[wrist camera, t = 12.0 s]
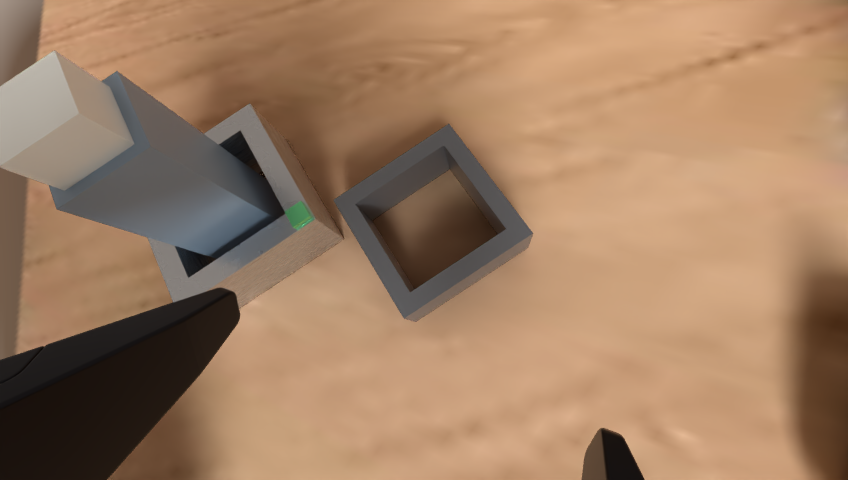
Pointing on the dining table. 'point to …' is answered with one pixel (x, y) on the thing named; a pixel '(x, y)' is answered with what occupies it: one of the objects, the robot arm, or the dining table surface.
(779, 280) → the dining table surface
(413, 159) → the frame
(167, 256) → the socket block
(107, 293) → the dining table surface
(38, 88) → the plug
